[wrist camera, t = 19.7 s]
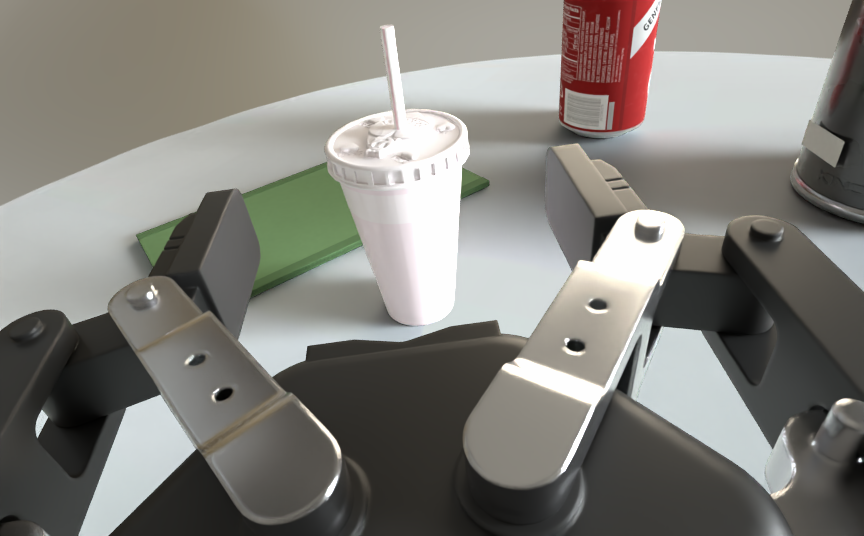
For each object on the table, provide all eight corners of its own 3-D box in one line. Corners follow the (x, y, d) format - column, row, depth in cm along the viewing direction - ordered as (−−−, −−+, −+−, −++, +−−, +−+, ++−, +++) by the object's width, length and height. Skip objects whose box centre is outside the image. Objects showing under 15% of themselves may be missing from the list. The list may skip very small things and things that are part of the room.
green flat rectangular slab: (398, 139, 47) (398, 134, 47) (489, 185, 39) (489, 180, 39) (138, 239, 38) (135, 234, 37) (185, 328, 30) (182, 322, 29)
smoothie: (495, 278, 30) (486, 9, 22) (451, 358, 26) (418, 58, 17) (395, 258, 33) (352, 10, 24) (339, 328, 28) (262, 53, 20)
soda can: (605, 151, 41) (622, -25, 34) (541, 127, 46) (545, -32, 39) (660, 124, 44) (688, -44, 37) (595, 104, 49) (608, -48, 41)
